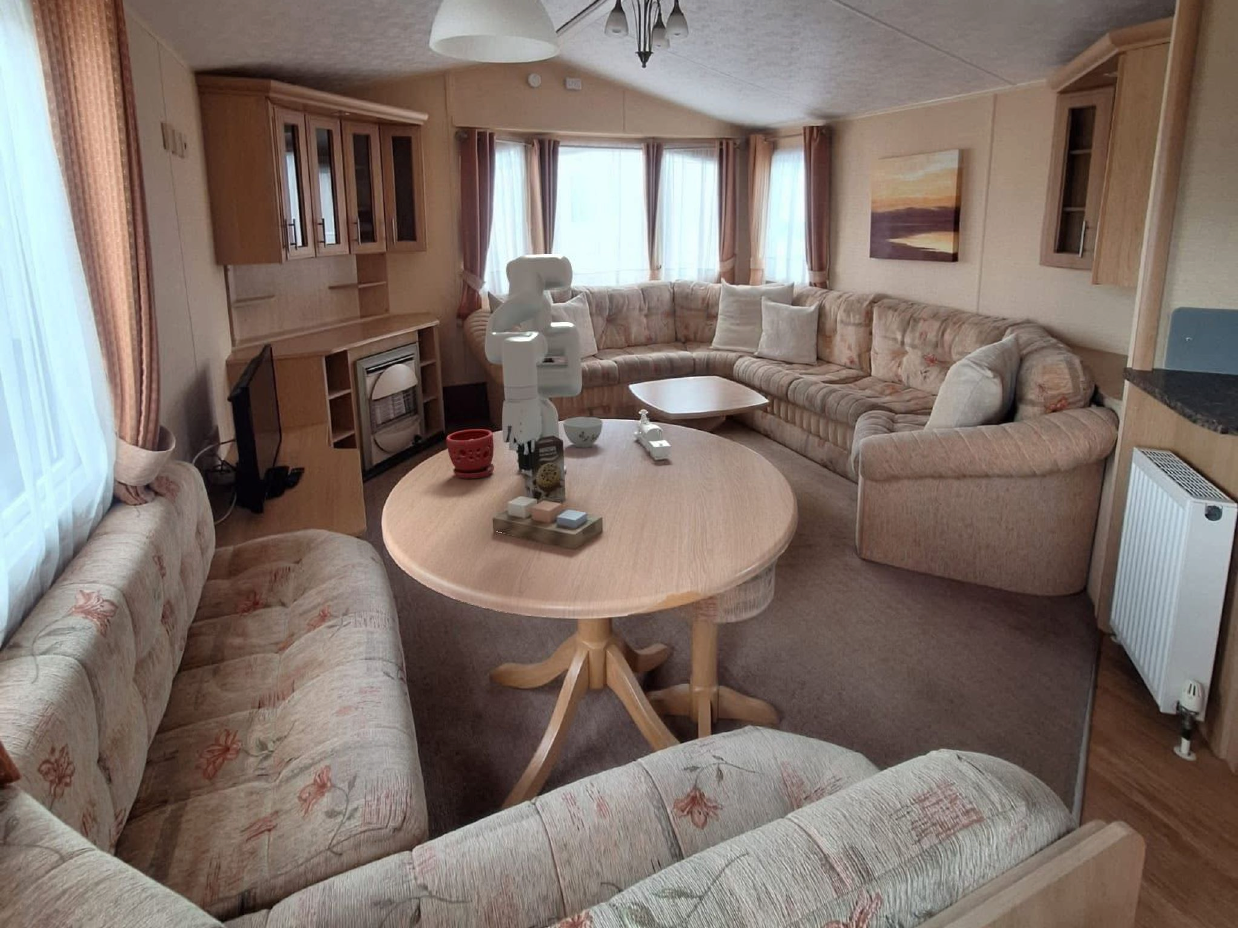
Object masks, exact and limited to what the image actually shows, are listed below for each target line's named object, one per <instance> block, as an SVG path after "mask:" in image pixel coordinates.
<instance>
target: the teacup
mask: <svg viewBox="0 0 1238 928" xmlns="http://www.w3.org/2000/svg"><path fill="white" fill-rule="evenodd" d="M603 424H604V421H603V420H602V419H600V418H598V417H592V416H590V417H586V416H578V417H572V418H571V417H570V418H566V419H565V420H563V421H562V426H563V430H564V433H565V435H566V438H567V439H568V440H569V442H570V443H571V444H572V445H574V447H576V448H590V447H592V446H593V445H594V443H596V442H597V441H598V439H599V438H600V436H601V432H602V430H603Z"/></svg>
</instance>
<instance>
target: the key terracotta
mask: <svg viewBox="0 0 1238 928" xmlns="http://www.w3.org/2000/svg"><path fill="white" fill-rule="evenodd" d="M531 508H532V520H537V521H542V522H547V523H551V522H553V521H555V520H556V519H557V516H559V515H560V514H562V509H563V508H562V503H559V502H555V501H554V502H549V501H542V502H540V503H538V504H537V505H535V506H533V507H531Z"/></svg>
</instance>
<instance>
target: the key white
mask: <svg viewBox="0 0 1238 928" xmlns="http://www.w3.org/2000/svg"><path fill="white" fill-rule="evenodd" d="M535 505H537V499H533V498H527V497H526V496H520V495H519V496H518V497H516V498H514V499H512V500H510V501H508V502H507V504H506V506H507V510H508V515H512V516H517V517H522V518H527V517H529V516H530V515H532V508H531V507H533V506H535Z"/></svg>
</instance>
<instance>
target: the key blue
mask: <svg viewBox="0 0 1238 928" xmlns="http://www.w3.org/2000/svg"><path fill="white" fill-rule="evenodd" d="M566 510H567V511H565V512H564V513H562V514H560V515H559V516H557V525H562V526H567V527H572V528H577V527H579V526H580V525H582V524H583V523H585V522H587V514H588V513H587V512H584V511H579V510H573V509H566Z"/></svg>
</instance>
